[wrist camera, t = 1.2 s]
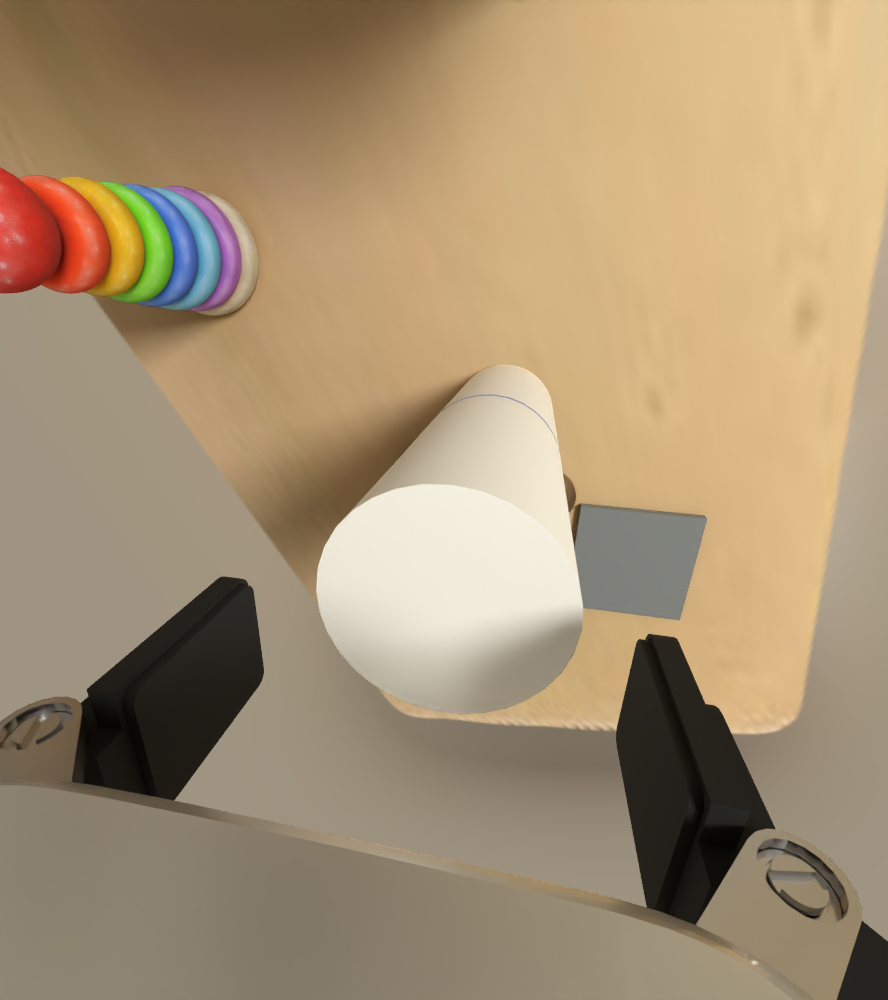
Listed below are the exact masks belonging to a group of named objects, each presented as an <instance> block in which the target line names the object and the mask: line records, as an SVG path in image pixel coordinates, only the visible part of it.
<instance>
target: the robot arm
mask: <svg viewBox="0 0 888 1000" xmlns="http://www.w3.org/2000/svg"><path fill="white" fill-rule="evenodd" d="M263 674H264V667H263V659H262V651H261V644H260V637H259V629H258V621H257V614H256V607H255V599H254V591H253V588H252V587H251V586H248V583H247V581H246V580H244V579H239V578H231V577H220V578H218V579H217V580H216V581H215V582H214V583H212V584H211V585H210V586H209V587H208V588H207V589H205V590H204V591H203V592H202V593H201V594H199V595H198V596H197V597H196V598H195V599H193V600H192V601H191V602H190V603H189V604H188V605H186V606H185V607H184V608H183V609H182V610H180V611H179V612H178V613H177V614H176V615H174V616H173V617H172V618H171V619H170V620H168V621H167V622H166V623H165V624H164V625H163V626H161V627H160V628H159V629H158V630H157V631H155V632H154V633H153V634H152V635H151V636H149V637H148V638H147V639H146V640H145V641H144V642H142V643H141V644H140V645H139V646H138V647H136V648H135V649H134V650H133V651H132V652H130V653H129V654H128V655H127V656H126V657H125V658H123V659H122V660H121V661H120V662H119V663H118V664H116V665H115V666H114V667H113V668H111V669H110V670H109V671H108V672H107V673H105V675H103V676H102V677H101V678H100V679H98V680H97V681H96V682H95V683H94V684H92V685H91V686H90V687H89V688H88V689H87V692H88V696H89V697H87V698H86V699H85V700H84V701H83V702H82V703H79V702H78V701H77V700H76V699H73V698H70V697H54V698H48V699H43V700H40V701H37V702H35V703H32V704H29V705H27V706H25V707H23V708H21V709H19V710H17V711H15V712H13V713H12V714H10V715H9V716H8V717H6V718H5V719H3V720H2V721H1V722H0V1000H888V941H886V940H885V939H883V937H882V936H880V935H879V934H878V933H876V932H875V931H874V930H873V929H871V928H870V927H869V926H868V925H867V924H865V923H864V922H863V921H862V907H861V904H860V901H859V898H858V895H857V892H856V890H855V889H854V887H853V886H852V884H851V882H850V881H849V879H848V878H847V876H846V875H845V874H844V873H843V872H842V870H841V869H840V868H839V867H838V866H837V865H836V864H835V863H834V861H833V860H832V859H831V858H829V857H828V856H827V855H826V854H824V853H823V852H822V851H821V850H819V849H818V848H817V847H816V846H814V845H813V844H811V843H809V842H807V841H806V840H804V839H802V838H800V837H799V836H796V835H794V834H791V833H788V832H785V831H783V830H776V829H775V827H774V825H773V823H772V821H771V818H770V816H769V814H768V812H767V810H766V807H765V806H764V803H763V801H762V799H761V797H760V794H759V792H758V790H757V788H756V786H755V784H754V782H753V779H752V777H751V775H750V773H749V771H748V769H747V766H746V764H745V762H744V760H743V758H742V756H741V753H740V751H739V749H738V747H737V745H736V743H735V741H734V738H733V736H732V734H731V732H730V730H729V727H728V725H727V723H726V721H725V719H724V717H723V715H722V713H721V711H720V710H719V708H717V707H716V706H714V705H708V704H705V702H704V700H703V697H702V695H701V693H700V690H699V688H698V686H697V683H696V681H695V679H694V677H693V674H692V672H691V670H690V667H689V665H688V663H687V660H686V658H685V656H684V653H683V651H682V649H681V646H680V644H679V642H678V640H677V638H675V637H668V636H660V635H653V634H648V635H647V637H646V640H641V639H639V640H638V641H637V644H636V647H635V652H634V656H633V661H632V665H631V669H630V674H629V678H628V682H627V687H626V691H625V695H624V700H623V704H622V708H621V713H620V717H619V721H618V726H617V732H616V742H617V750H618V755H619V760H620V766H621V771H622V777H623V782H624V787H625V792H626V798H627V803H628V808H629V814H630V819H631V825H632V830H633V835H634V841H635V846H636V852H637V857H638V862H639V868H640V873H641V879H642V884H643V889H644V895H645V900H646V905H647V908H646V907H642V906H639V905H635V904H632V903H629V902H625V901H622V900H619V899H615V898H611V897H607V896H603V895H599V894H595V893H590V892H586V891H582V890H578V889H574V888H570V887H565V886H561V885H557V884H553V883H549V882H545V881H541V880H537V879H532V878H528V877H524V876H520V875H515V874H511V873H506V872H501V871H497V870H493V869H488V868H483V867H479V866H475V865H470V864H465V863H461V862H456V861H452V860H448V859H443V858H438V857H434V856H430V855H425V854H421V853H416V852H411V851H407V850H403V849H398V848H393V847H388V846H384V845H379V844H375V843H370V842H365V841H361V840H357V839H352V838H347V837H342V836H338V835H333V834H329V833H324V832H320V831H315V830H310V829H306V828H301V827H296V826H292V825H287V824H282V823H277V822H273V821H268V820H264V819H259V818H254V817H249V816H245V815H240V814H235V813H230V812H226V811H221V810H216V809H211V808H206V807H202V806H196V805H192V804H187V803H182V802H178V801H174V800H175V799H176V797H177V796H178V795H179V793H180V792H181V791H182V789H183V788H184V786H185V785H186V784H187V782H188V781H189V780H190V778H191V777H192V776H193V774H194V773H195V772H196V770H197V769H198V767H199V766H200V765H201V763H202V762H203V761H204V759H205V758H206V757H207V755H208V754H209V753H210V751H211V750H212V749H213V747H214V746H215V745H216V743H217V742H218V740H219V739H220V738H221V736H222V735H223V734H224V732H225V731H226V730H227V728H228V727H229V726H230V724H231V723H232V722H233V720H234V718H236V716H237V715H238V713H239V712H240V711H241V709H242V708H243V707H244V705H245V704H246V703H247V701H248V700H249V698H250V697H251V696H252V694H253V693H254V692H255V690H256V689H257V688H258V686H259V685H260V683H261V681H262V678H263Z"/></svg>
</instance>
